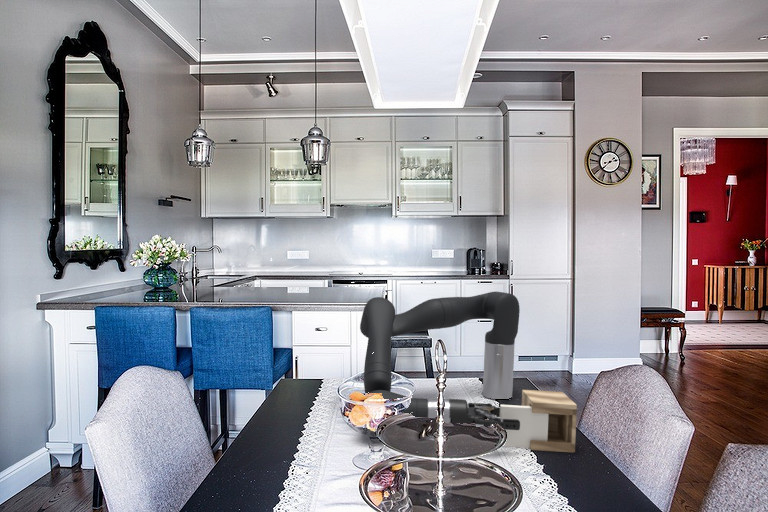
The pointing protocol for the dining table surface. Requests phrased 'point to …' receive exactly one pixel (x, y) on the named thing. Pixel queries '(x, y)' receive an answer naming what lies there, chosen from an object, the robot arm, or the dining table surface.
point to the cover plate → (524, 425)
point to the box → (553, 419)
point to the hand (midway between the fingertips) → (515, 418)
